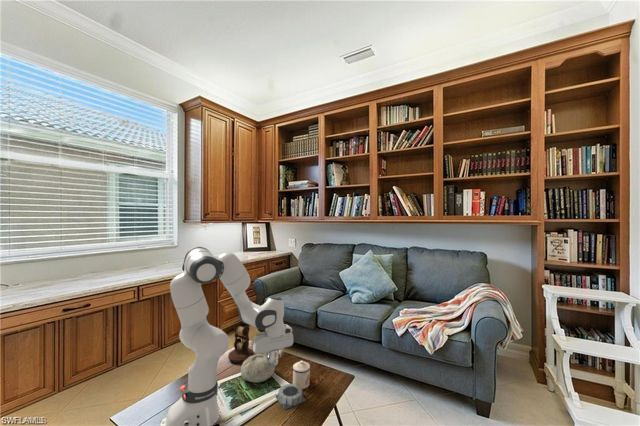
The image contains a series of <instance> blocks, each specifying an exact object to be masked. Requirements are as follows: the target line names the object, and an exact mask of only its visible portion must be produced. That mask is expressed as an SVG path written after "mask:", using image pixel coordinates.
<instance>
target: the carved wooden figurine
mask: <svg viewBox="0 0 640 426" xmlns="http://www.w3.org/2000/svg"><path fill="white" fill-rule="evenodd" d="M249 334H250V325H245V326H243V324H242V323H241V322H238V323H237V324H235V326H234V338H235V339H234V342H233V348H234V349H232V350H231V351H230V352H229V353H228V356H227V357H228V361H230V362H232V363H238V364H240V365H242V363H243V362H244V361H245V360H246V359H247V358H249V357H250V356H253V355H255V353H254V351H253V348H250V337H249V336H250V335H249Z"/></svg>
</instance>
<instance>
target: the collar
mask: <svg viewBox="0 0 640 426" xmlns="http://www.w3.org/2000/svg"><path fill="white" fill-rule="evenodd" d="M277 394H278V395H276V394H275V395H276V397H275V398H276V400H277V401H278V403H279V404H280V406H281V407H282V408H283V410H284V411H286V410H288V409H291V408H293V407H296V406H298V405H300V404H302V403H305V402H307V399H306V398H305V397H304V395H303V389H302V388H301V387H300V386H299V385H296V384H293V383H287V384H284V385H282V386H281V387H279V389H278V393H277Z"/></svg>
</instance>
